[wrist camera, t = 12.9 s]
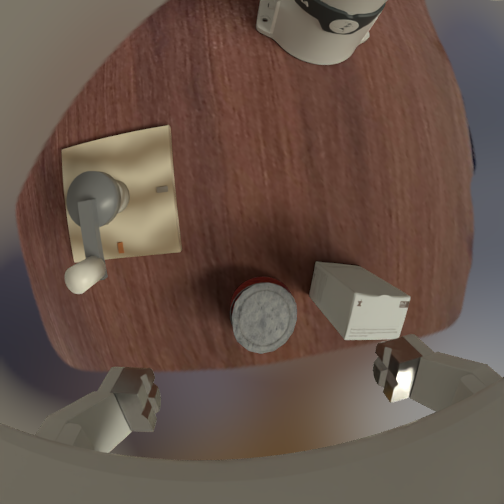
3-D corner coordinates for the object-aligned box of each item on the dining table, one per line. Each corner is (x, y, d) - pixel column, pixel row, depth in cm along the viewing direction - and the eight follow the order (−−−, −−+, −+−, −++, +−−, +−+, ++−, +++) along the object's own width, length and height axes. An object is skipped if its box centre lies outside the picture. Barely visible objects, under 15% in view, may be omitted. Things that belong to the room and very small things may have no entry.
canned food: (233, 280, 48) (224, 268, 39) (294, 281, 48) (301, 269, 38) (231, 348, 45) (222, 354, 36) (293, 349, 45) (300, 355, 35)
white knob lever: (118, 167, 32) (88, 163, 24) (131, 270, 35) (106, 292, 27) (72, 176, 31) (36, 176, 23) (85, 273, 34) (54, 294, 26)
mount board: (66, 150, 37) (42, 146, 30) (170, 127, 38) (158, 116, 31) (78, 260, 41) (56, 272, 34) (182, 249, 42) (172, 262, 35)
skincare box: (307, 295, 45) (338, 343, 30) (315, 258, 43) (352, 292, 29) (355, 299, 45) (398, 342, 31) (363, 264, 44) (413, 297, 30)
